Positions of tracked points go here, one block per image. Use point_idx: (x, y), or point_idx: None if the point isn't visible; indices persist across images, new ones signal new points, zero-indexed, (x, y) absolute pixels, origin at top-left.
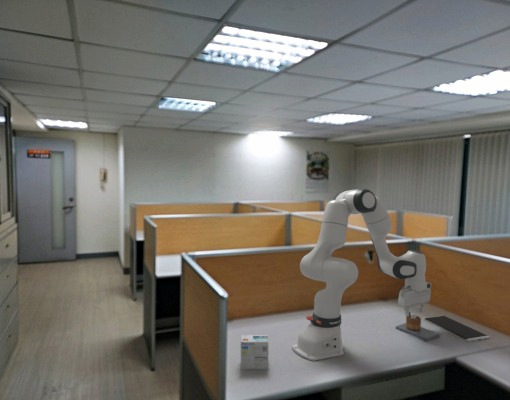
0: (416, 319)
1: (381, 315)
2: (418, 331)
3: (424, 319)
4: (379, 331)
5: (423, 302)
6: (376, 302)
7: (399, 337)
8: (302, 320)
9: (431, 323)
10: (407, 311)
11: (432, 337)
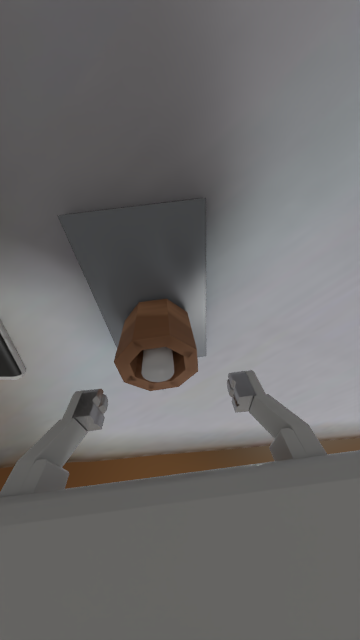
0: (173, 340)
1: (156, 413)
2: (163, 292)
3: (22, 371)
4: (270, 349)
5: (28, 510)
6: (103, 454)
7: (268, 293)
8: (332, 420)
9: (9, 340)
10: (270, 402)
11: (143, 205)
